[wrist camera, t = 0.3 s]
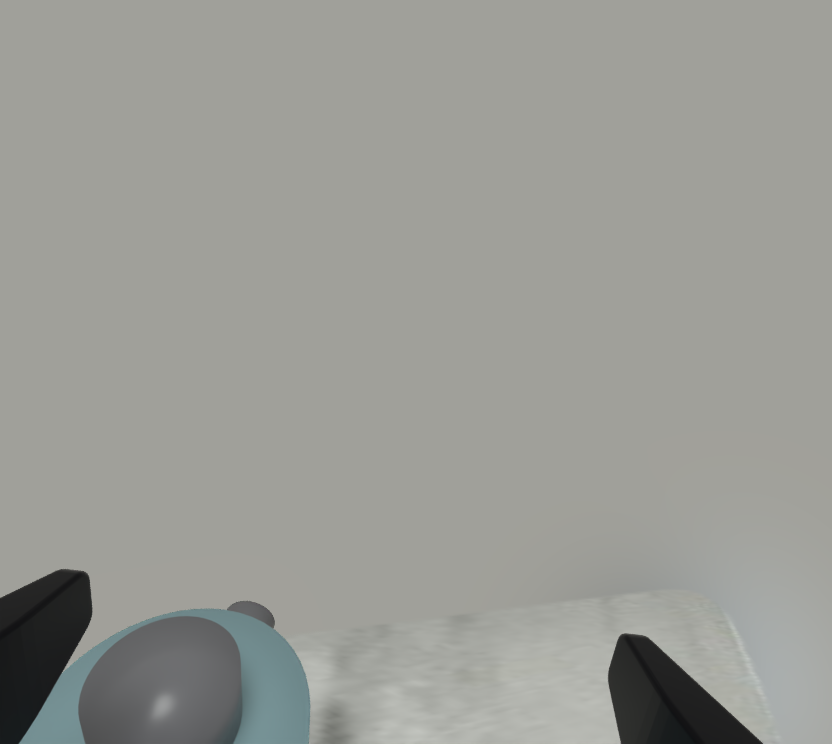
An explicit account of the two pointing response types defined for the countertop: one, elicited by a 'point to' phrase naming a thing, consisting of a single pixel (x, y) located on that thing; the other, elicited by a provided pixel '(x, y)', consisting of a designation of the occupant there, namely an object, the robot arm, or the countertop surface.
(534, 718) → the countertop surface
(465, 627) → the countertop surface
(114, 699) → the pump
